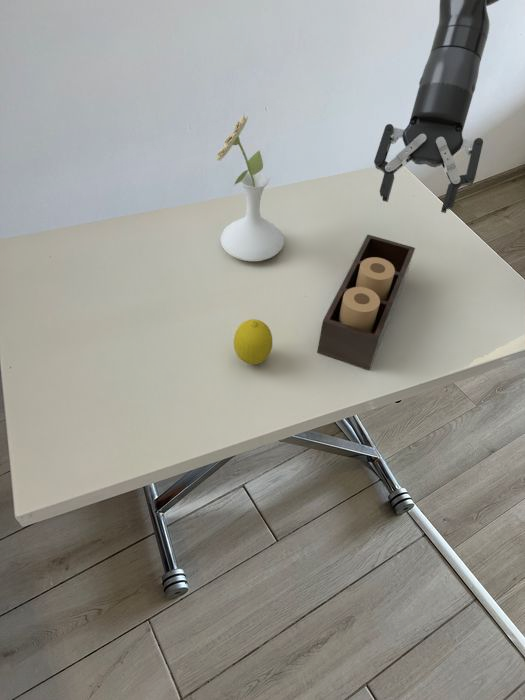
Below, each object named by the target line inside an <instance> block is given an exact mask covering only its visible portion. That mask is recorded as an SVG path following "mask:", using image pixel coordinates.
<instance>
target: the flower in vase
mask: <svg viewBox="0 0 525 700" xmlns="http://www.w3.org/2000/svg"><path fill="white" fill-rule="evenodd" d="M248 118H249V115H247V114H244V113H243V114H242V116H241V118H240V120H237V121H236V123H235V125H234V127H233V128H234V129H233V132H232V133H231V134H230V135H229V136H227V137H226V138H225V140H224V146H222V147H221V148H220V150H218V152H217V154H216V161H218V162H220V161H222V159H224V158H225V156H226V155H227V154H228V153H229V151H230V150H231V149H232V148H233V146H238V147H239V148H240V151H241V153H242V155H243V157H244V160H245V163H246V167H247V169H246V170H244V171H243V172H242V173H241V174H239V176H238V177H237V178H236V180H235V181H234V184H233V186H235V185H237V184H239V183H240V185H241V186H242V188H243V189H244V192H245V198H246V212H245V215H244V216H243V217H241V218H238V219H236V220H234V221H233V222H231V223H230V224H228V225H227V226H226V227H225V228H224V230H223V231H222V233H221V235H220V244H221V247H222V248H223V249H224V251H225V252H227V254H229V255H230V256H231V257H233V258H235V259H237V260H241V261H245V262H262V261H265V260H269V259H271V258H273V257H275V256H276V255H277V254H278V253H280V251H281V250H282V249H283V247H284V244H285V238H284V236H283V233H282V232H281V230H280V229H279V228H278V227H277V226H276V225H275V224H274V223H273V222H271V221H269V220H268V219H266V218H264V217H262V215H261V200H262V194H263V191H264V189H265V188H266V187H267V186H268V185H269V183H270V177H269V176H268V175H267V174H265V173H264V172H262V170H263V169H264V161H263V157H262V155H261V154H262V153H261V151H260V150H257V151H256V152H255V153H254V154H253V155H252V156H251V157H249V159H248V157H247V155H246V151H245V150H244V147H243V145H242V143H241V140H240V135H241V133H242V131H243V130H244V128H245V126H246V124H247V121H248Z"/></svg>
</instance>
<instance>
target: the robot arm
mask: <svg viewBox="0 0 525 700" xmlns="http://www.w3.org/2000/svg"><path fill="white" fill-rule="evenodd" d="M499 1H500V0H439V4H438V5H439V7H438V9H439V10H438V12H439V13H438V24H437V27H436V29H435V34H434V38H433V41H432V45H431V49H430V52H429V56H428V58H427V61H426V62H425V65H424V68H423V71H422V75H421V77H420V80H419V83H418V90H417V92H416V97H415V101H414V104H413V107H412V111H411V115H410V118H409V122H408V124H407V126H406V128H405V129H403V128H398V127H395V126H394V125H393V124H391V123H388V124H386V125H385V127H384V130H383V131H382V132H383V133H382V136H381V138H380V141H379V145H378V147H377V151H376V154H375V157H374V159H373V160H374V161H373V163H374V166H375V169H376V170H379V171H381V172H382V173H383V177H382V182H381V184H380V187H379V196H380V197H382V198H381V199H382V200H381V201H383V202H386V203H388V202H389V200H390V195H391V193H392V188H393V184H394V180H395V174H396V173H397V172H398V171H399V170H400V169H402V168H403V167H405V166H406V165H408V164H409V163H410V162H411V161H412V163H414V164H415V165H420V166H422V165H426V166H429V167H431V168H437V167H440V166H441V167H442V169H443V171H444V174H445V175H446V178H447V179H448V182H449V184H448V186H447V189H446V192H445V196H444V199H443V202H442V206H441V211H440V213H442V214H447V211H448V210H449V211H451V210H452V209H453V208H454V204H455V200H456V198H457V194H458V190H459V189H460V188H461V187H465V186H468V187H469V186H472V185H473V184H474V182H475V180H476V175H477V171H478V166H479V163H480V159H481V154H482V149H483V145H484V140H483V138H481V137H477V138H475V139H466V138H464V137H463V131H464V127H465V124H466V121H467V117H468V113H469V111H470V107H471V104H472V100H473V96H474V93H475V91H476V86H477V82H478V78H479V72H480V66H481V62H482V58H483V56H484V55H483V54H484V52H485V48H486V44H487V41H488V38H489V37H488V36H489V33H490V26H491V25H490V17H489V14H488V9H487V7H488V6H491V5H494V4H495V3H497V2H499ZM399 139H402V141H403V144H404V148H403V149H402V150H400V151H399V152H398V153H397V154H396V155H395V157H393V159H391V160H390V161H389V162H387V161H386V160H387V157H388V154H389V152H390V148H391V145H395V144H396V143H397V141H398V140H399ZM461 149H464V151H465V152H464V154H465V156H466V157H468V158H469V161H468V165H467V169H466V173H465V174H461V175H460V174H459V171H458V168H457V167H456V163H455V161H454V158H453V156H454V155H456V154H457V153H458V152H459V151H460V150H461Z"/></svg>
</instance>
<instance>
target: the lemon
mask: <svg viewBox="0 0 525 700" xmlns="http://www.w3.org/2000/svg"><path fill="white" fill-rule="evenodd" d="M233 349H234V351H235V354H236V356H237V358H239V360H240V361H242V362H243V363H245V364H248V365H259V364H261V363H263V362H264V361H265V360H267V359H268V357H269V356H270V354H271V352H272V349H273V334H272V332H271V329H270V328H269V326H268V325H267V324H266V323H265V322H264V321H262V320H260V319H257V318H255V319H254V318H251V319H248V320H247V319H246V320H244V321H242V323H241V324H239V326H238V327H237V328H236V331H235V334H234V338H233Z"/></svg>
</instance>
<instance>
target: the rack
mask: <svg viewBox="0 0 525 700" xmlns="http://www.w3.org/2000/svg"><path fill="white" fill-rule="evenodd" d="M415 250H416V247H413V246H411V245H407V244H404V243H400V242H397V241H393V240H389V239H385V238H381V237H379V236H375V235H372V234H366V237H365V239H364V241H363V243H362V244H361V246H360V248H359V250H358V252H357V254H356V256H355V258H354V260H353V261H352V263H351V265H350V267H349V269H348V272H347V273H346V275H345V277H344V279H343V281H342V283H341V285H340V287H339V288H338V291H337V292H336V295H335V296H334V298H333V300H332V302H331V303H330V306H329V308H328V310H327V312H326V313H325V315H324V317H323V319H322V322H321V327H320V328H321V329H320V334H319V339H318V346H317V350H316V353H317V354H320V355H323V356H326V357H328V358H332V359H334V360H337V361H339V362H343V363H346V364H349V365H352V366H355V367H357V368H360V369H363V370H366V371H370V370H371V367H372V364H373V362H374V360H375V358H376V355H377V352H378V349H379V347H380V345H381V343H382V340H383V337H384V334H385V333H386V330H387V326H388V324H389V322H390V319H391V317H392V314H393V311H394V309H395V307H396V305H397V301H398V299H399V297H400V294H401V293H402V289H403V286H404V284H405V281H406V278H407V276H408V273H409V269H410V266H411V263H412V259H413V257H414V255H415V254H414V253H415ZM372 257H377V258H382V259H385V260H387V261H389V262H390V263H391V264H392V265H393V266H394V268H395V273H394V277H393V280H392V283H391V287H390V290H389V294H388V297H387V301H385V300H382V299H380V305H379V309H378V312H377V316H376V319H375V323H374V326H373V330H372V333H370V332H367V331H364V330H361V329H358V328H355V327H352V326H349V325H346V324H343V323H340V322H338V320H339V315H340V310H341V305H342V300H343V296H344V293H345V292H346V291H347V290H348V289H350V288H353V287H355V286H356V282H357V277H358V273H359V268H360V264H361V262H362V261H363V260H365V259H367V258H372Z"/></svg>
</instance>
